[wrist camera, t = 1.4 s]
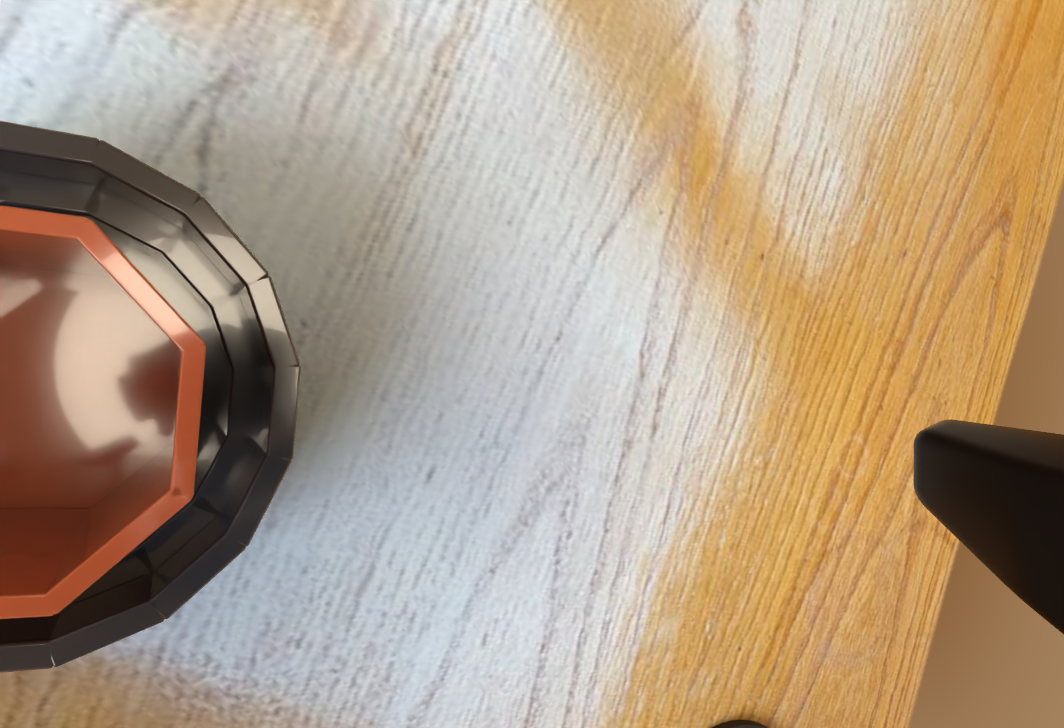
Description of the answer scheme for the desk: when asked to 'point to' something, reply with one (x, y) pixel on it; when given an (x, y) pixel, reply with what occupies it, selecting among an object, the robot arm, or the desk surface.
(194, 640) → the desk surface
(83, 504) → the octagonal orange cup
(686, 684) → the desk surface
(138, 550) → the wide bowl
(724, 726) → the coaster
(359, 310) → the desk surface
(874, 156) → the desk surface
